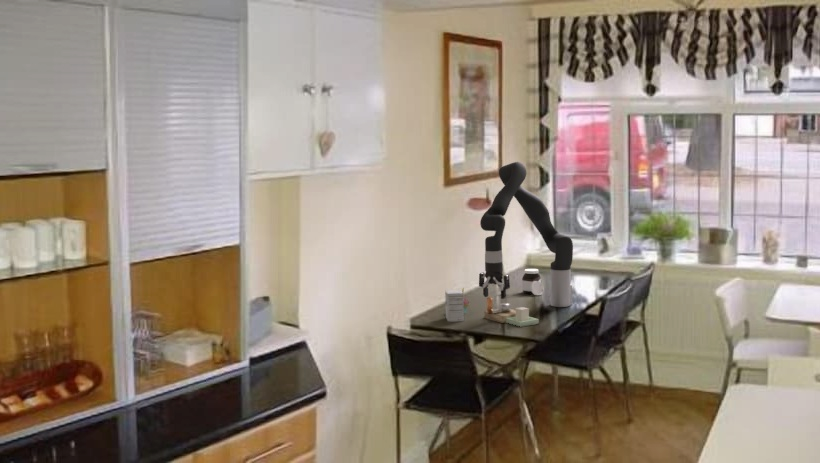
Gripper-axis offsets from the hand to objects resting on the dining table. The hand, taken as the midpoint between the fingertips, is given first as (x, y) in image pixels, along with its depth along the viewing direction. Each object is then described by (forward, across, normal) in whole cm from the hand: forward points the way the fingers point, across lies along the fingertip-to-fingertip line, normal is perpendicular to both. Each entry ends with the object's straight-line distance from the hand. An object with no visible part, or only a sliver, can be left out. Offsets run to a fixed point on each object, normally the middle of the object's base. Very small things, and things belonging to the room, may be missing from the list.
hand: (494, 297), depth 425 cm
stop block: (+10, -11, -4) cm, 16 cm away
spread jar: (+12, +17, -63) cm, 66 cm away
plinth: (+11, 0, -9) cm, 14 cm away
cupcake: (+11, +23, -7) cm, 26 cm away
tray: (+11, -11, -5) cm, 16 cm away
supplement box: (+11, +18, +5) cm, 22 cm away
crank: (+8, +1, -5) cm, 9 cm away
